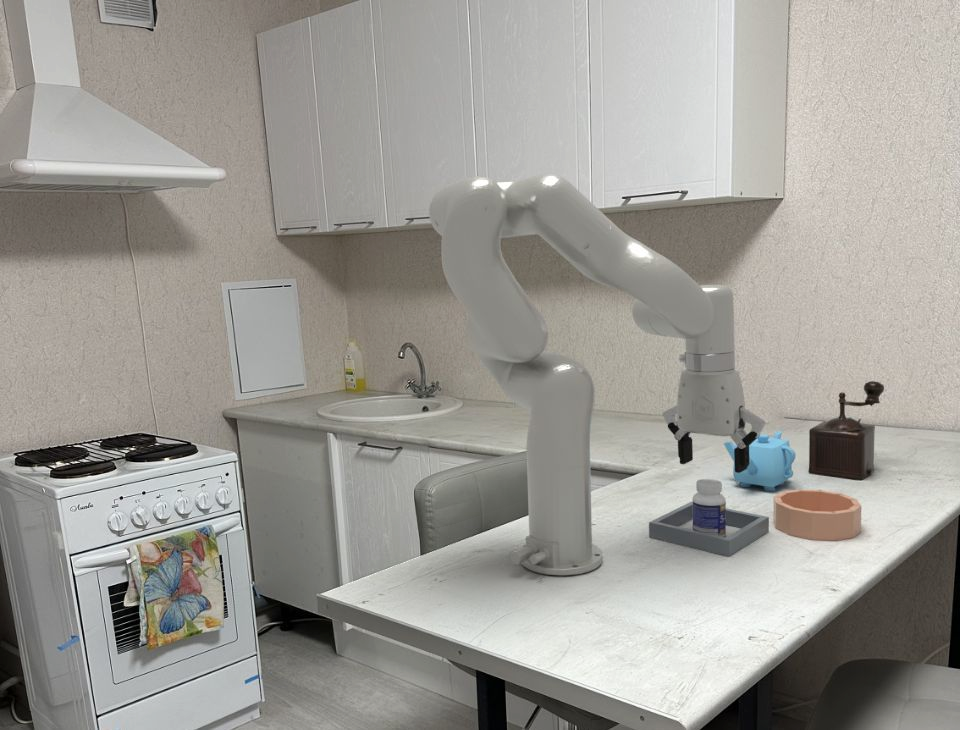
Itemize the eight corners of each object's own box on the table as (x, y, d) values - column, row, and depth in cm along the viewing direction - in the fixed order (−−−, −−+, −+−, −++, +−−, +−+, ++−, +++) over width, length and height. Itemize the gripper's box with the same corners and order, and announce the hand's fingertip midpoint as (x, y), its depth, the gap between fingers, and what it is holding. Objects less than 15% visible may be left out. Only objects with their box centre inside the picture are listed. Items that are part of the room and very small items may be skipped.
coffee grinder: (865, 481, 156) (867, 391, 153) (807, 473, 163) (808, 387, 160) (884, 464, 168) (887, 380, 165) (829, 457, 175) (831, 377, 172)
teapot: (777, 501, 146) (777, 448, 144) (705, 489, 155) (705, 438, 153) (811, 479, 159) (812, 429, 158) (743, 468, 168) (743, 422, 167)
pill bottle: (727, 540, 127) (727, 487, 126) (693, 539, 128) (693, 486, 127) (724, 529, 132) (724, 477, 131) (691, 528, 133) (691, 477, 132)
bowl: (842, 546, 123) (842, 518, 122) (761, 528, 131) (761, 503, 131) (870, 524, 132) (871, 498, 131) (793, 509, 141) (793, 485, 140)
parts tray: (729, 556, 120) (729, 540, 120) (649, 536, 130) (648, 522, 129) (768, 531, 130) (768, 517, 130) (691, 515, 140) (691, 501, 139)
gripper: (650, 363, 130) (654, 464, 132) (751, 369, 118) (753, 480, 120) (674, 357, 135) (677, 454, 137) (773, 361, 123) (774, 468, 125)
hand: (713, 466), depth 129 cm, fingers open, 9 cm apart
